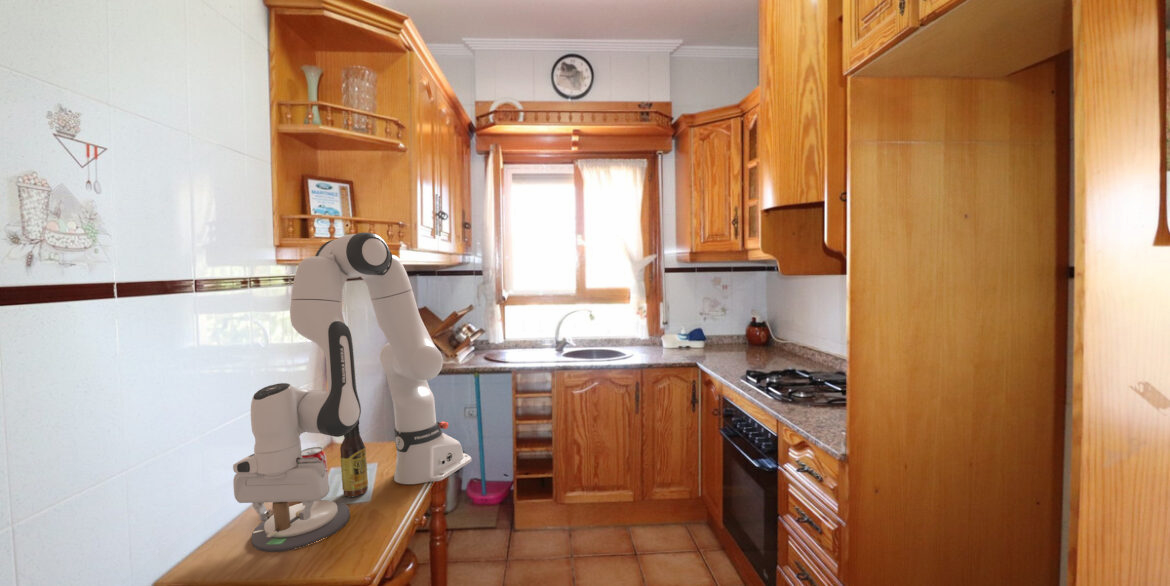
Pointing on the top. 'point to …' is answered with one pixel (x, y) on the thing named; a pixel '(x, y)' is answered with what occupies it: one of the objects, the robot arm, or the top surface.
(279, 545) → the dial base
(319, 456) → the soda can
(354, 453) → the sauce bottle
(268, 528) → the dial
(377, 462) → the top surface
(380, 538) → the top surface
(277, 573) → the top surface
